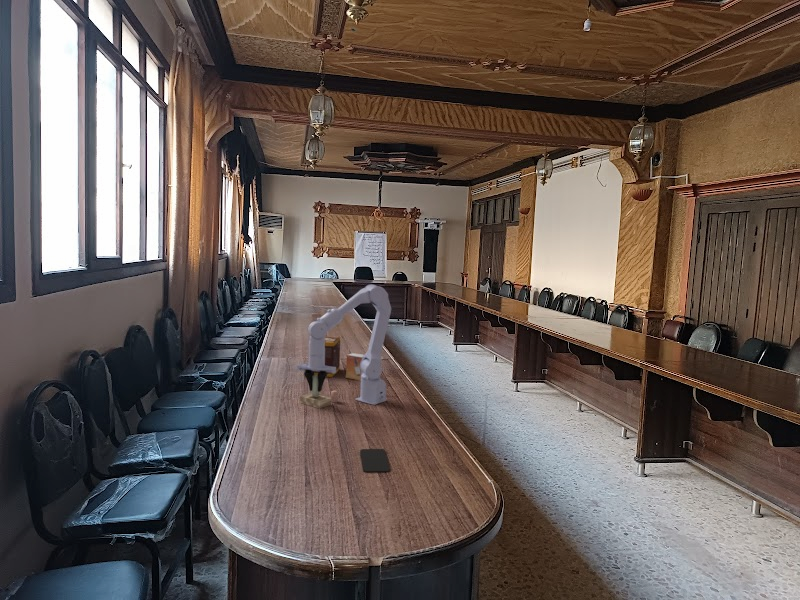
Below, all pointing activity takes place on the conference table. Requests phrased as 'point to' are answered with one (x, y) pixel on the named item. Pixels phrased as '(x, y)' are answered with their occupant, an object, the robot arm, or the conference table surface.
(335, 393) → the short pin
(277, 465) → the conference table surface
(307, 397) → the hole plate
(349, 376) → the small box
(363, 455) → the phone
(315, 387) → the long pin
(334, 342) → the supplement box
